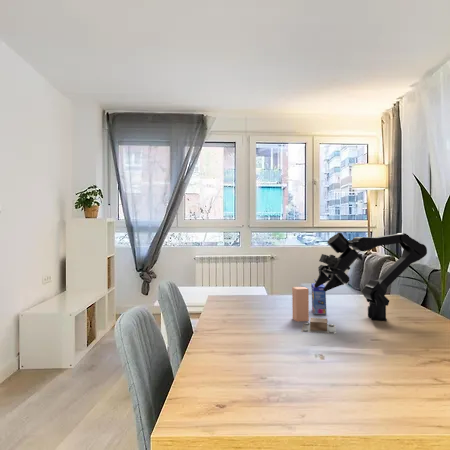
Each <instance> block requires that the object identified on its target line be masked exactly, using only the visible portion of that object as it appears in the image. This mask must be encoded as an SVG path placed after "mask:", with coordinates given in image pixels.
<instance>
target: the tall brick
mask: <svg viewBox="0 0 450 450" xmlns="http://www.w3.org/2000/svg"><path fill="white" fill-rule="evenodd" d="M291 288H292V289H291V290H292V293H291V294H292V295H291V296H292V297H291V299H292V300H291V301H292V309H291V310H292V320H294V321H295V322H297V323H298V322H310V320H309V319H310V317H309V316H310V314H309V313H310V311H309V309H310V305H309V303H310V302H309V301H310V300H309V288H307V287H305V286H292V287H291Z"/></svg>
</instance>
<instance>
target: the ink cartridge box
mask: <svg viewBox="0 0 450 450" xmlns="http://www.w3.org/2000/svg"><path fill="white" fill-rule="evenodd" d="M313 280H314V281H315V282H314V283H311V309H312V313H313V314H314V315H327V291H324V290H323V289H324V287H325V286H326V285H324V284H322V285H320V286H318V287H317V288H316V287H315V286H314V285H315V283H316V281H317V279H313Z"/></svg>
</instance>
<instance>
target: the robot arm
mask: <svg viewBox="0 0 450 450" xmlns="http://www.w3.org/2000/svg"><path fill="white" fill-rule="evenodd" d="M326 244H328V245H329V246H330V247H331V249H332V250H333V251H334V252H335V253H336V254H339V253H340V254H339V256H338V257H336V255H334V254H329V255H328V254H323V253H321V255H320V258H319V259H318V260H319V261H318V262H320V263H323V264H320V265H319V266H318V268H317V269H318V277H317V279H316V282H314V283H315V285H314V286H315V287H316V288H317V287H318V286H320V285H322V284H323V285H324V284H325V283H326V284H325V285H324V286H325V287H324V289H323V290H324V291H326V292H327V291H330V290H333V289H335V288H337V287H340V286H343V285H347V284H348V283H349V282H350V276H349V275H348V274H347V273H346V272H347V270H348V271H349V270H350V269H351V266H352V264H353V263H354V262H355V261H356V260H357V261H363V260H364V259H363V253H359V252H367V251H370V250H373V249H374V248H378V247H383V246H389V245H395V244H399V246H400V247H401V248H402V249H403V250H402V253H401V256H400V257H399V258H398V259H397V260H396V262H394V263H393V264H392V265H391V266H390V268H388V269H387V270H386V271H385V272H384V274H382V275H381V276H380V277H379V278H378V279H376V280H375V279H370V280H369V281H368V282H367V284H364V287H363V289H362V295H363V297H364V298H365V300H366V302H368V306H367V317H368V319H371V320H373V321H387V320H388V319H387V307H388V306H389V304H390V300H389V299H388V297H387V296H386V294H387V291H388V288H389V286H391V285H392V283H393V282H394V281H396V280H397V279H398V278H399V277H400V275H402V274H403V272H404V271H406V270H407V269H408V267H409V266H411V265H412V264H414V263H417V262H418V261H420V260H421V259H423V258H424V257H426V256H427V254H428V249H427V246H426V245H425V244H424V243H421V242H420V241H418V240H416V239H414V238H412V237H411V236H410V235H408V234H407V233H403V232H402V233H401V232H398V233H393V234H387V235H380V236H373V237H370V236H369V237H368V236H366V237H365V236H355V237H352V239H350V240H348V239H347V238H346V237H345V236H344V234H343V233H342V232H337V233H336V234H333V236H330V237H329V239H328V240H327V243H326ZM358 251H359V252H358ZM325 264H326V265H325Z"/></svg>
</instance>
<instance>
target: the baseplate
mask: <svg viewBox="0 0 450 450" xmlns="http://www.w3.org/2000/svg"><path fill="white" fill-rule="evenodd" d="M336 325H337V324H333V323H329V324H327V331H319V330H310V322H303V324H302V328H301V331H300V332H302V333H311V334H312V333H314V334H329V335H330V334H332V335H336V334H337V331H336Z"/></svg>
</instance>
